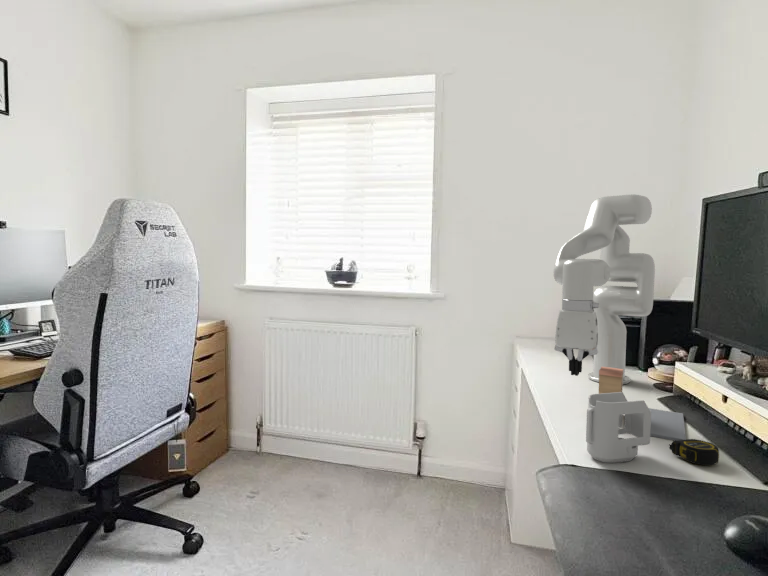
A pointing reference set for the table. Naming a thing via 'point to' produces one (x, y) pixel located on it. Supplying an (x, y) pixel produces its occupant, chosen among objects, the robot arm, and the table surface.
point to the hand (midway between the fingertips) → (575, 374)
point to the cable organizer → (616, 427)
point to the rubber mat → (667, 425)
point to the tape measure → (696, 451)
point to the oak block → (610, 380)
